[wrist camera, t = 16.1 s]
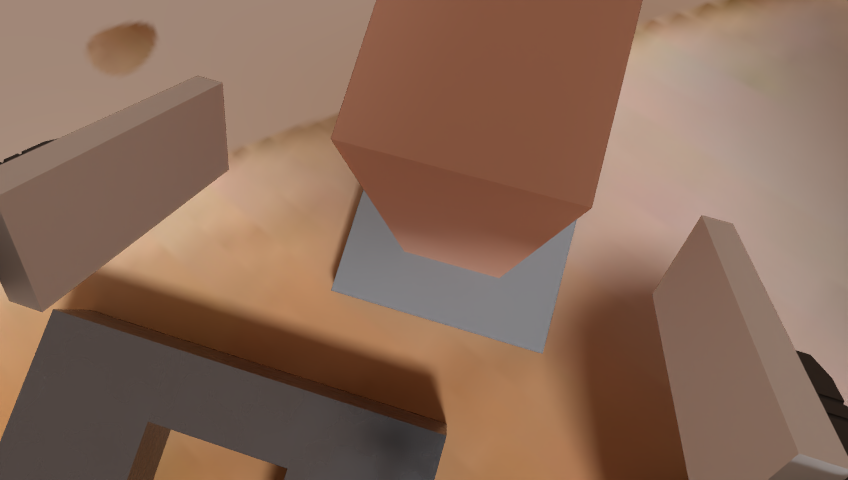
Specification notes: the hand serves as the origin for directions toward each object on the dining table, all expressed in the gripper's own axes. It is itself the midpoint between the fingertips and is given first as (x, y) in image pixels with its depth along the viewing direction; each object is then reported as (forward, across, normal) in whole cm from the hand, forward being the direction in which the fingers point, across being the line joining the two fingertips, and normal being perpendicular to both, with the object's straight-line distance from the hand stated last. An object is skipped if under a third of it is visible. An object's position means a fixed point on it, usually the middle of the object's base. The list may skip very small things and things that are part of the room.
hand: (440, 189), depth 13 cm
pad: (+10, 0, -8) cm, 13 cm away
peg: (+10, 0, -7) cm, 12 cm away
